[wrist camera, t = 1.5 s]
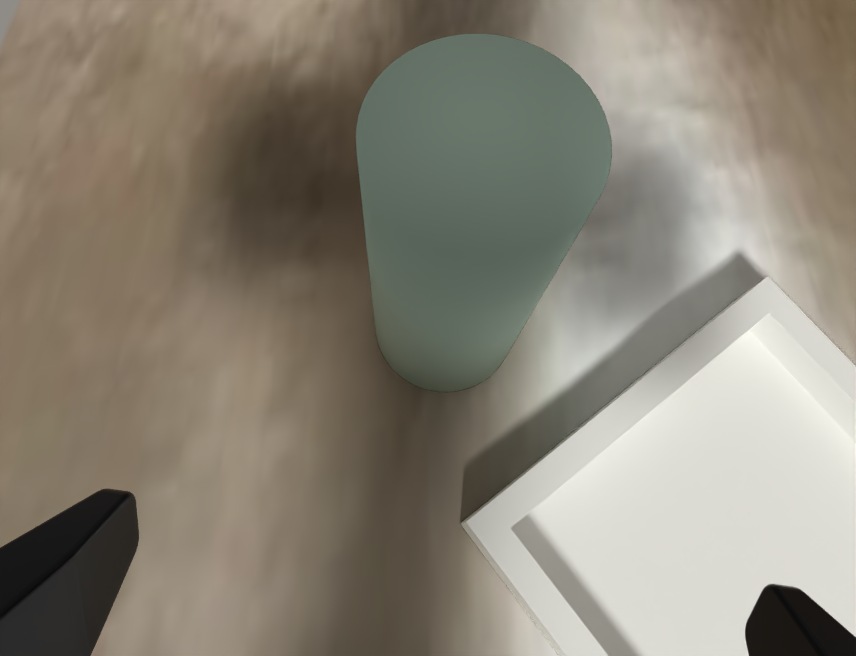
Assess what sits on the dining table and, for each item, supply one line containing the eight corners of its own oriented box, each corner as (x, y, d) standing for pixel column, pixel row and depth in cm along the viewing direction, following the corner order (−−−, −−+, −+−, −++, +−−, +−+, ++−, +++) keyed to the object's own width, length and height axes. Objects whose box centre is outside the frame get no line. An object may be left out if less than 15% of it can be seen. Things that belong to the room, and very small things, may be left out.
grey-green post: (431, 420, 23) (464, 306, 12) (347, 311, 25) (305, 112, 13) (541, 337, 25) (664, 162, 13) (455, 236, 26) (501, -5, 14)
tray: (753, 916, 19) (792, 957, 17) (460, 523, 22) (465, 522, 20) (1031, 602, 22) (1090, 608, 21) (740, 295, 26) (767, 276, 24)
